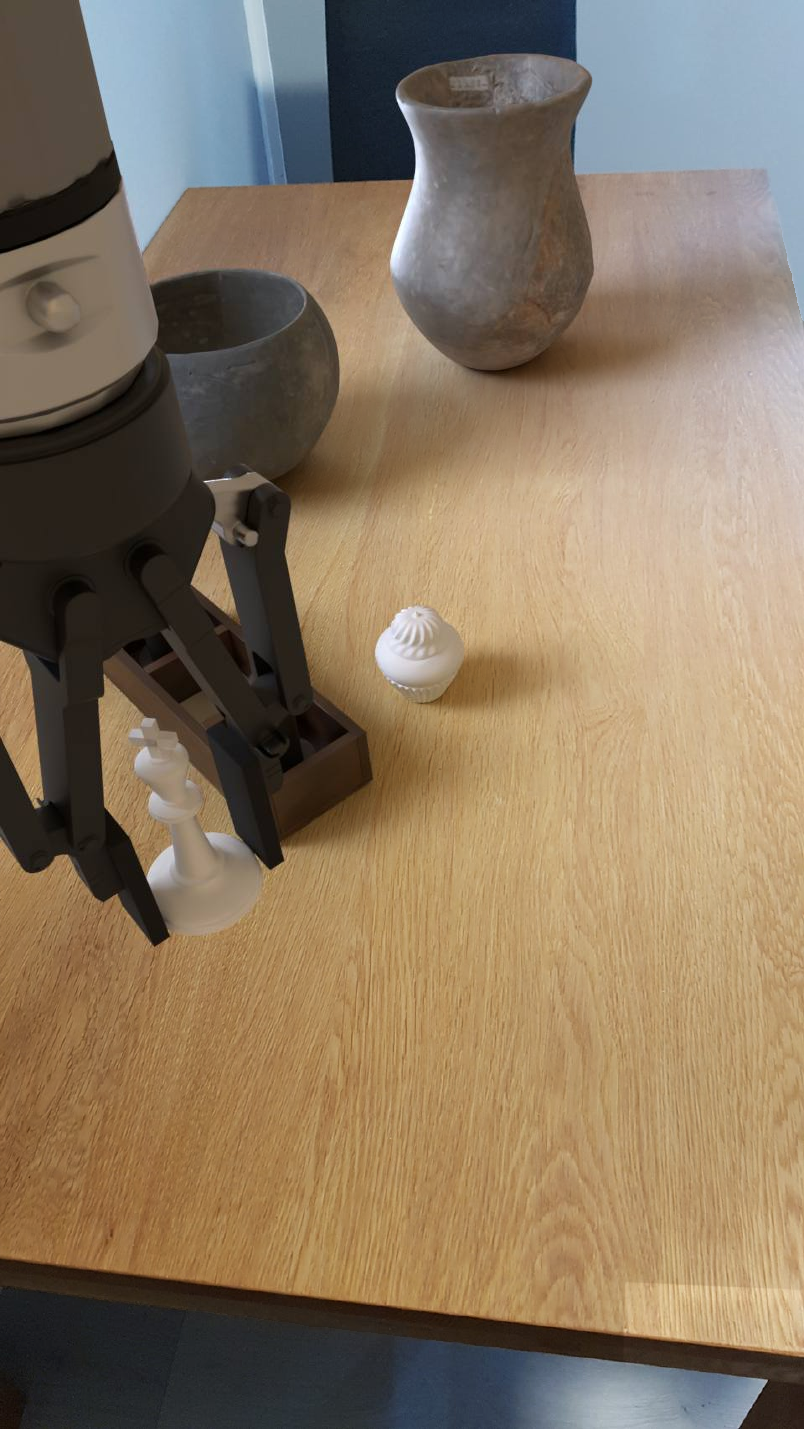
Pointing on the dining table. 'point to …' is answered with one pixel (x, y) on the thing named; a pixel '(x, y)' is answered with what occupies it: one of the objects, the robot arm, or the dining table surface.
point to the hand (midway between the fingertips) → (204, 882)
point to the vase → (493, 207)
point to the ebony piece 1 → (154, 649)
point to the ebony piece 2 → (292, 742)
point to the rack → (190, 713)
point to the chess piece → (191, 845)
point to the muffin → (420, 653)
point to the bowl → (247, 367)
